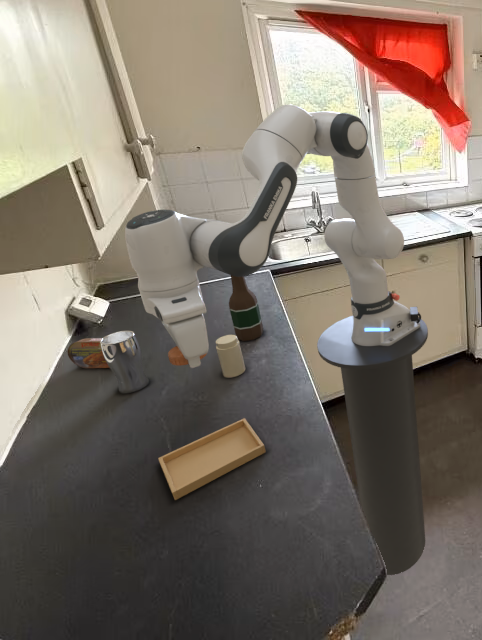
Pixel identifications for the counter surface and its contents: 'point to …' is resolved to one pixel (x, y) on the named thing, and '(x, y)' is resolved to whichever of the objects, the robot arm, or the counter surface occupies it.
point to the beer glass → (125, 360)
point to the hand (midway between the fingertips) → (190, 358)
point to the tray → (210, 457)
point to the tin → (87, 353)
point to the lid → (178, 357)
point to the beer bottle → (244, 311)
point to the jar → (230, 356)
